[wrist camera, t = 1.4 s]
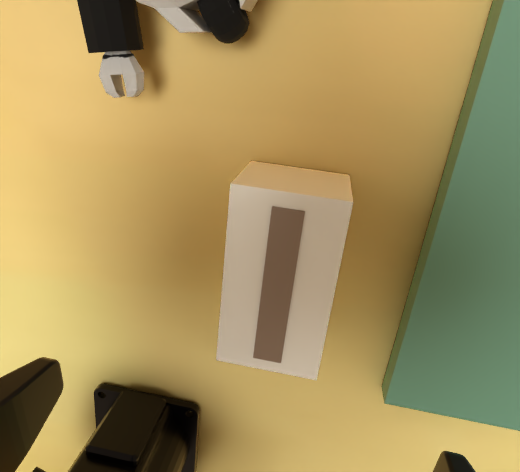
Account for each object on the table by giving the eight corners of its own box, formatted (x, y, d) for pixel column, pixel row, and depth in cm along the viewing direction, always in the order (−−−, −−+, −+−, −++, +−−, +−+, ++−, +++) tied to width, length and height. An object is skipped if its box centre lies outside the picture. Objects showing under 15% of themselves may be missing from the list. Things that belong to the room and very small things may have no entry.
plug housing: (319, 326, 21) (316, 382, 17) (236, 310, 22) (215, 361, 18) (349, 174, 18) (353, 202, 14) (250, 160, 18) (229, 184, 15)
